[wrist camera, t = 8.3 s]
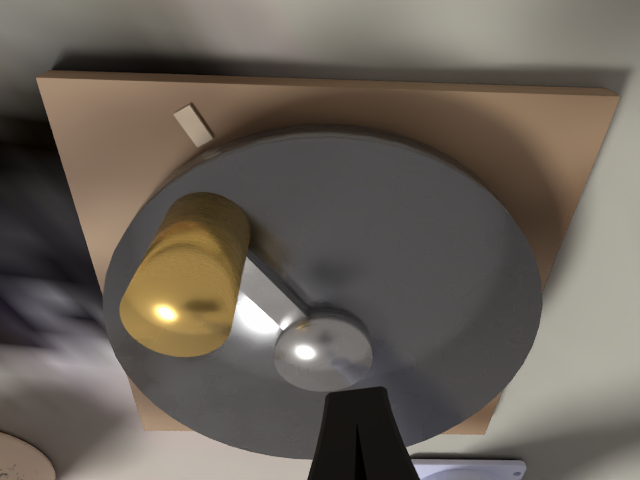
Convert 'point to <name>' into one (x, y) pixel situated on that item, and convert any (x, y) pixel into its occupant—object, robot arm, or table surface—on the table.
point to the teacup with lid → (23, 461)
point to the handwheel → (320, 287)
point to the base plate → (319, 108)
